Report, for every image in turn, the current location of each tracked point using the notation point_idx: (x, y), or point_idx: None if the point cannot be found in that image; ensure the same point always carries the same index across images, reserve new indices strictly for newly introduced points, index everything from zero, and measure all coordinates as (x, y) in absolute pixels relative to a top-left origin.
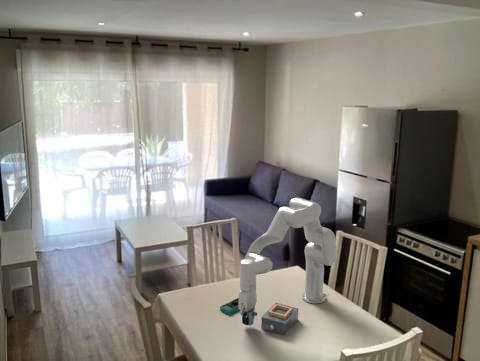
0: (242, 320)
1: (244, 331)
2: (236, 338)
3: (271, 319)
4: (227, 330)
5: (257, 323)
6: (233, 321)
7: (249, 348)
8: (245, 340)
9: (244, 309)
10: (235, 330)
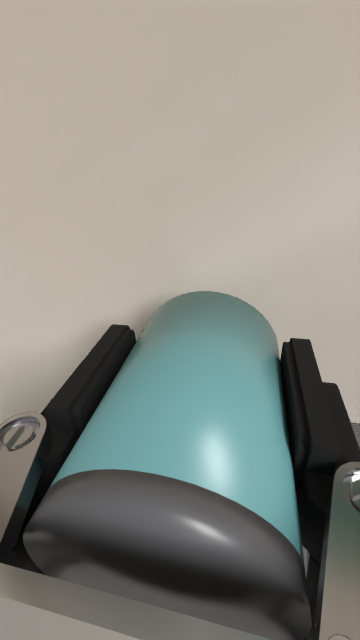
0: (97, 350)
1: (134, 313)
2: (6, 299)
3: None
4: (26, 136)
5: (335, 363)
6: (262, 55)
7: (2, 409)
8: (42, 365)
9: (77, 539)
10: (91, 226)
